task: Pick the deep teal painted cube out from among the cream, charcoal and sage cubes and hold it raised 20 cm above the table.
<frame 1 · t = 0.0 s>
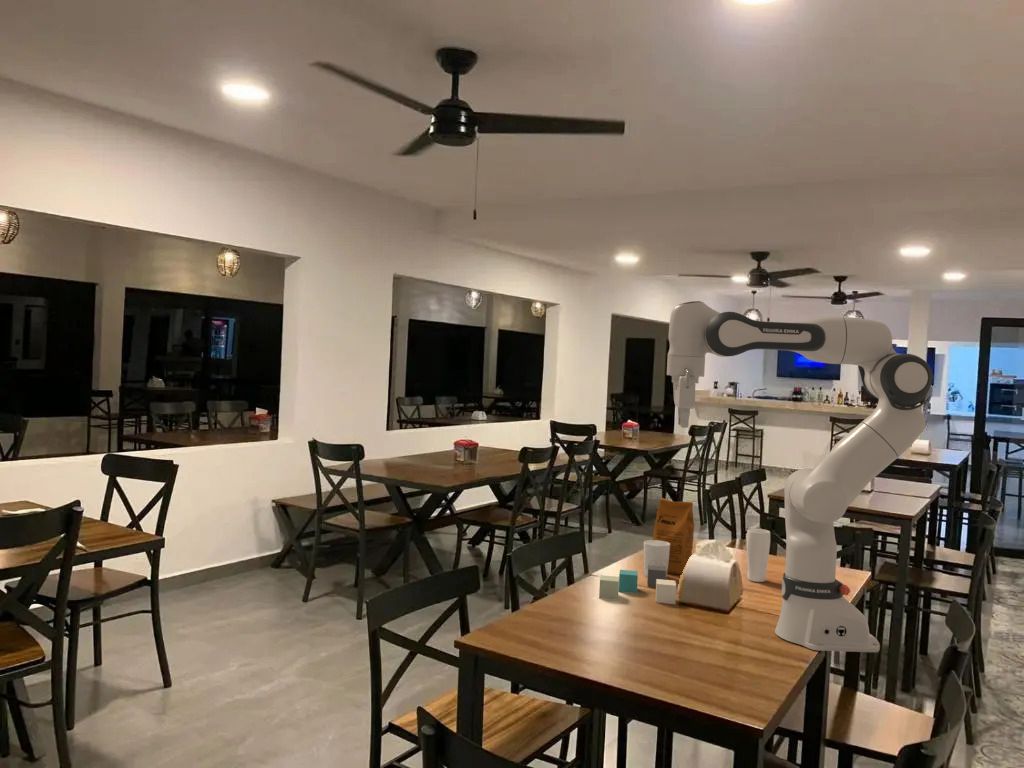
hand: (683, 426, 183), 48 cm above the table, tool pointing down, fingers open, 8 cm apart
cream cube: (665, 600, 204), on the table
white cup: (655, 576, 229), on the table
drinking glass 2: (756, 581, 229), on the table
coffee package: (671, 570, 237), on the table
charcoal cube: (656, 585, 219), on the table
sage cube: (608, 596, 205), on the table
teal cube: (627, 590, 212), on the table
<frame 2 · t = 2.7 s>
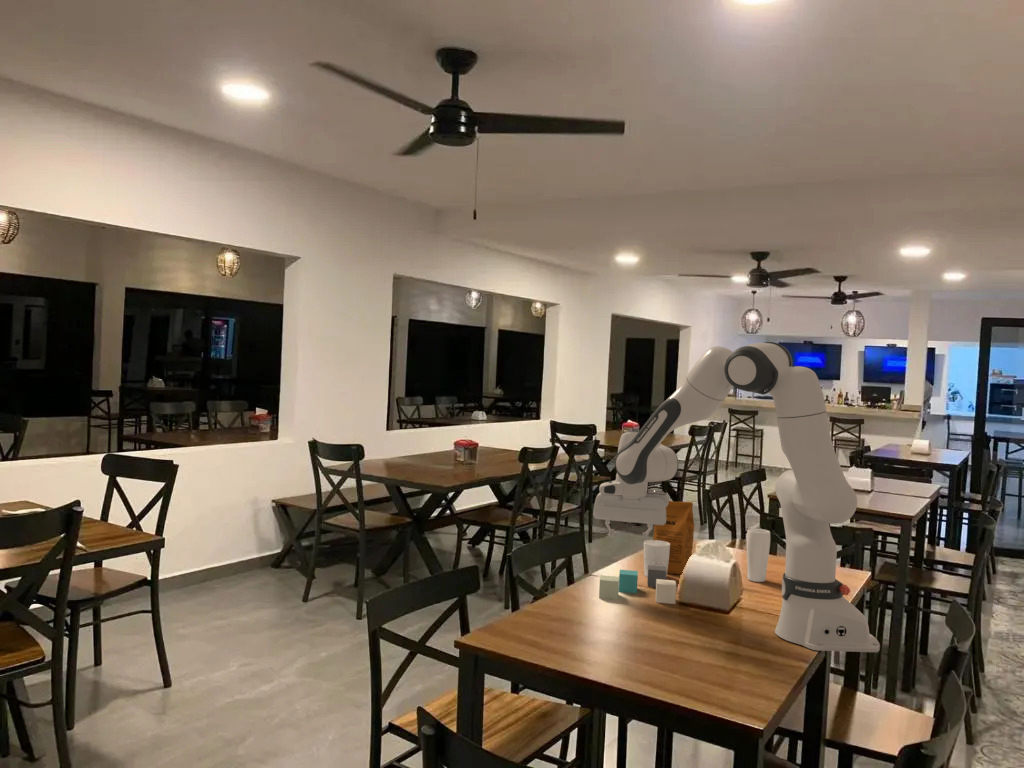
hand: (627, 537, 212), 15 cm above the table, tool pointing down, fingers open, 8 cm apart
nothing on the table moved.
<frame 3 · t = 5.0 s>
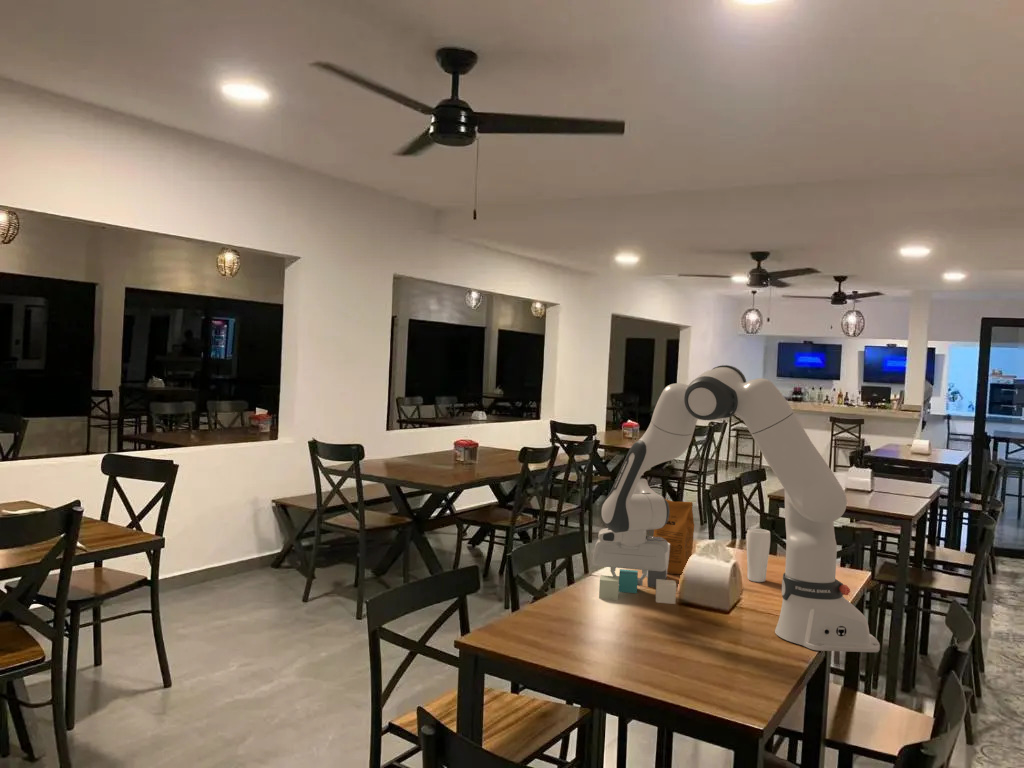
hand: (628, 584, 212), 2 cm above the table, tool pointing down, fingers closed on teal cube, 5 cm apart
teal cube: (627, 589, 212), on the table, touching gripper
everything else where it was.
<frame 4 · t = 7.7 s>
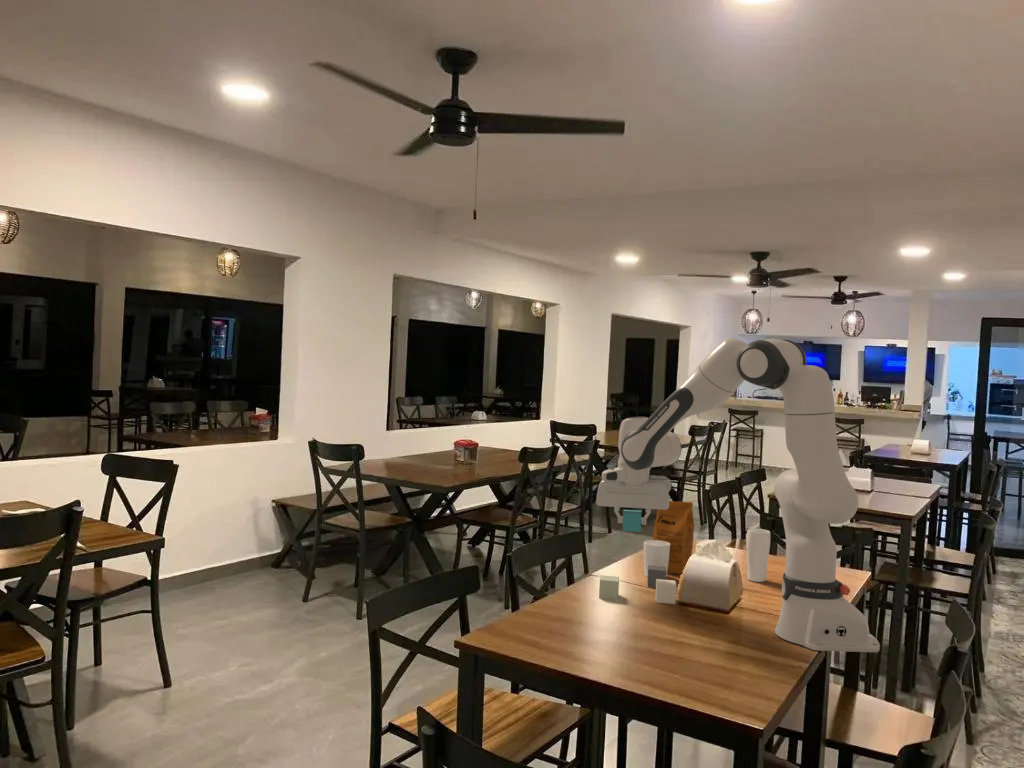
hand: (631, 523, 213), 18 cm above the table, tool pointing down, fingers closed on teal cube, 5 cm apart
teal cube: (631, 529, 213), point 17 cm above the table, touching gripper
everything else where it was.
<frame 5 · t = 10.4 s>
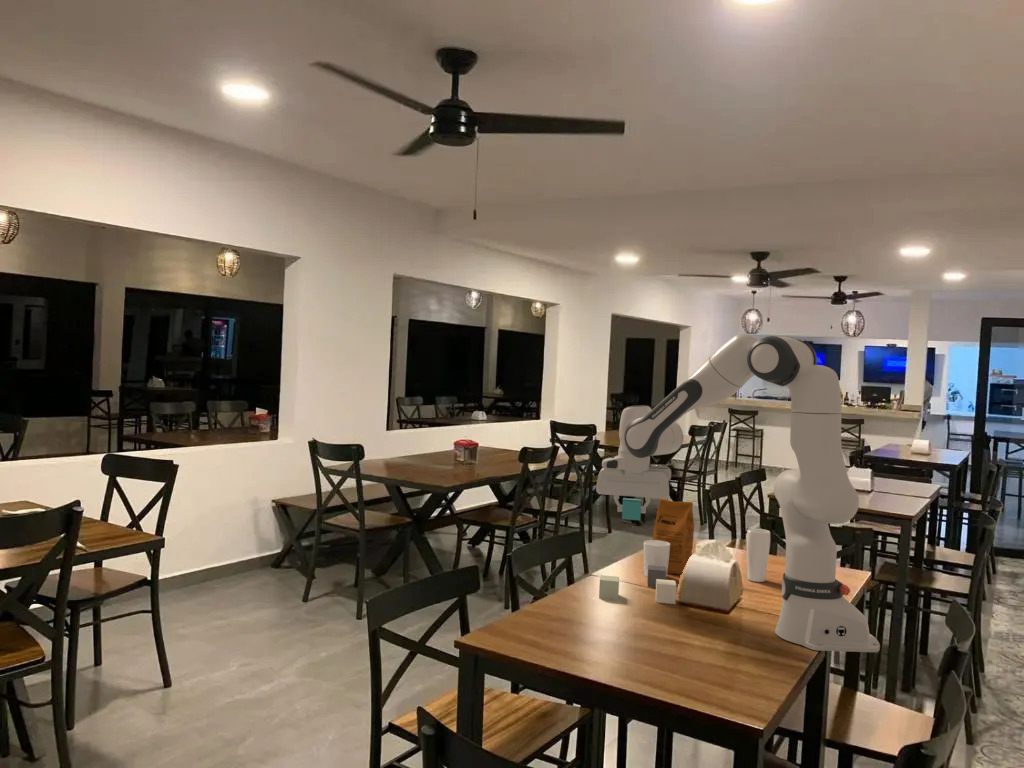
hand: (631, 512, 213), 22 cm above the table, tool pointing down, fingers closed on teal cube, 5 cm apart
teal cube: (631, 518, 213), point 20 cm above the table, touching gripper
everything else where it was.
at the end: the gripper is holding teal cube; teal cube point 20.0 cm above the table; sage cube moved 0.1 cm from its start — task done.
